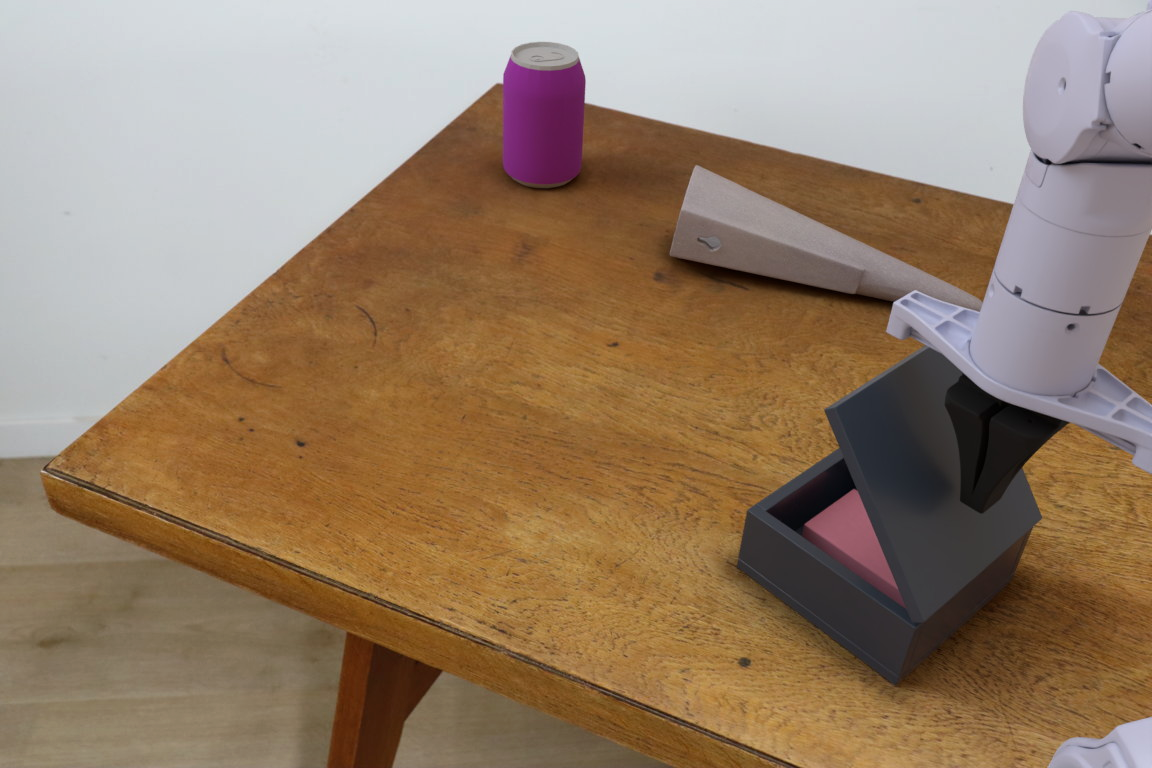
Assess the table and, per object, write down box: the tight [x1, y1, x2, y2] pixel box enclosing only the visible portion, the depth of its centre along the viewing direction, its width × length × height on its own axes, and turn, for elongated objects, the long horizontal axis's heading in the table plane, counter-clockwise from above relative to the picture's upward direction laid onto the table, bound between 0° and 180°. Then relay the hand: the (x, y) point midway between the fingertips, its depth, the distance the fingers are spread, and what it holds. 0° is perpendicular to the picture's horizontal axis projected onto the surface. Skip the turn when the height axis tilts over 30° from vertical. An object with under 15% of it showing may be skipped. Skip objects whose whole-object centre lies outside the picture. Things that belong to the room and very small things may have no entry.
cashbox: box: [736, 447, 1034, 687], centre depth 66 cm, size 12×12×5 cm
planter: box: [669, 164, 983, 312], centre depth 94 cm, size 8×9×26 cm
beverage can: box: [502, 41, 587, 189], centre depth 105 cm, size 8×8×12 cm
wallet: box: [802, 489, 906, 609], centre depth 66 cm, size 8×5×2 cm, turn 42°
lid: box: [823, 345, 1043, 623], centre depth 60 cm, size 12×12×1 cm
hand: (980, 499), depth 59 cm, fingers closed
